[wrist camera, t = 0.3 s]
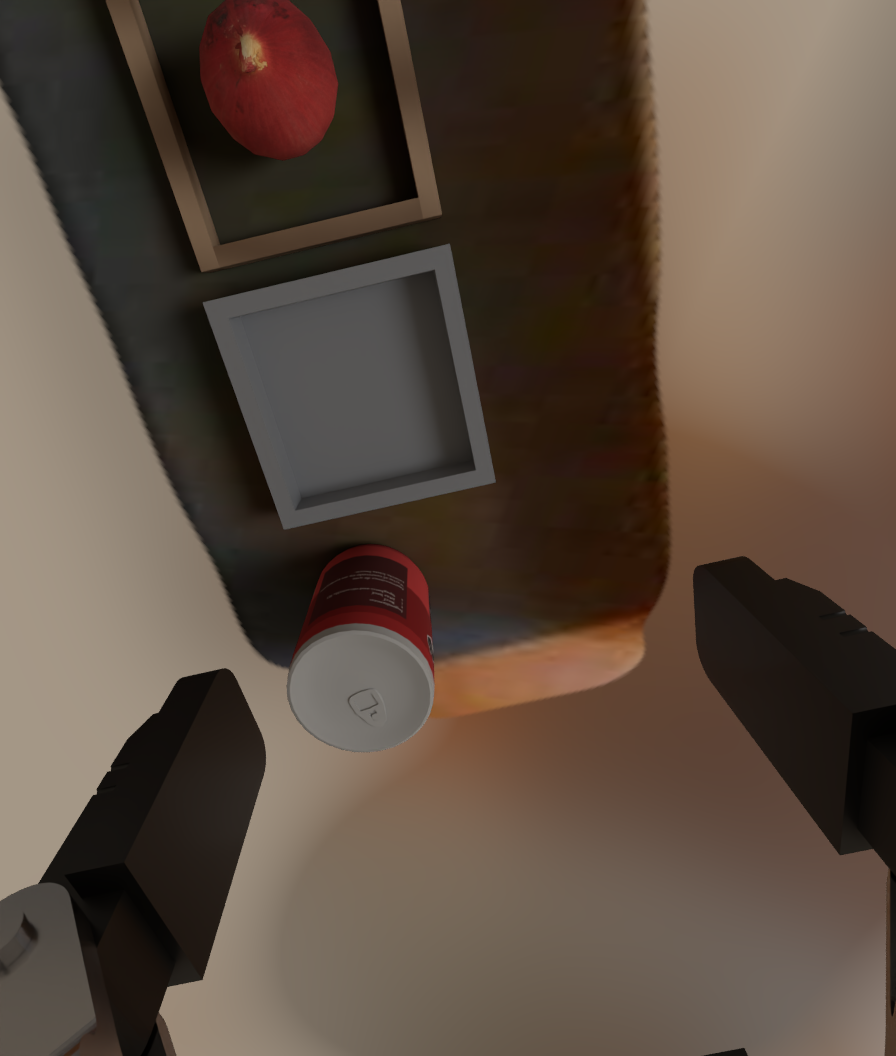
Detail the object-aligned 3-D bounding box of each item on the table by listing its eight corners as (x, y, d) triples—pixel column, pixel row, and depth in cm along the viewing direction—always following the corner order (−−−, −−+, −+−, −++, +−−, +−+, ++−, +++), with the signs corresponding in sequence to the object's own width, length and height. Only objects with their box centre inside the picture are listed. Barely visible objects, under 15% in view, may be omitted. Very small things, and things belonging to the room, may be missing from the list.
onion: (203, 85, 28) (129, 15, 21) (292, 3, 27) (248, -102, 20) (281, 196, 30) (239, 167, 23) (368, 123, 29) (353, 68, 22)
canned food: (372, 658, 42) (359, 776, 32) (293, 586, 39) (251, 689, 29) (453, 598, 40) (466, 701, 30) (376, 518, 38) (362, 602, 28)
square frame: (106, -27, 27) (89, -45, 25) (379, -98, 26) (377, -119, 25) (210, 272, 32) (201, 271, 30) (440, 217, 31) (442, 214, 30)
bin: (220, 301, 32) (202, 302, 29) (446, 247, 32) (449, 243, 29) (293, 511, 37) (283, 529, 35) (489, 467, 37) (495, 482, 34)
